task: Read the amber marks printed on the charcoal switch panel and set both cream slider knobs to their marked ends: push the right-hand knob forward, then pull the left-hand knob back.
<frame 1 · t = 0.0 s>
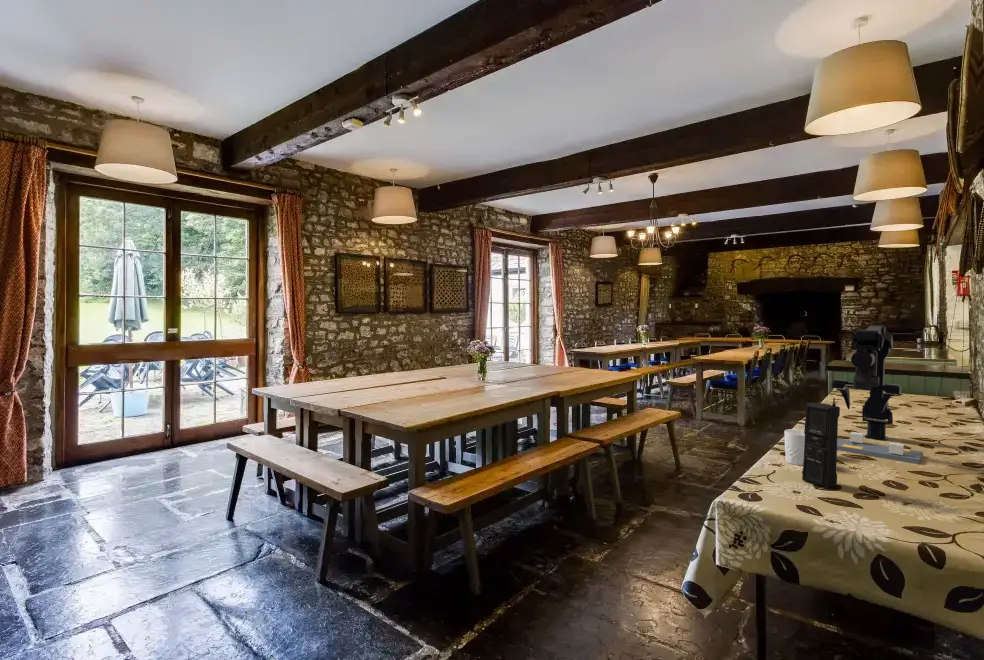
hand: (864, 410, 171), 15 cm above the table, fingers open, 9 cm apart
portable radio: (817, 483, 142), on the table
switch panel: (875, 452, 172), on the table
white cup: (797, 463, 160), on the table
slider b: (896, 448, 165), point 3 cm above the table, slide at 8.0 cm
slider a: (856, 437, 179), point 3 cm above the table, slide at 0.0 cm
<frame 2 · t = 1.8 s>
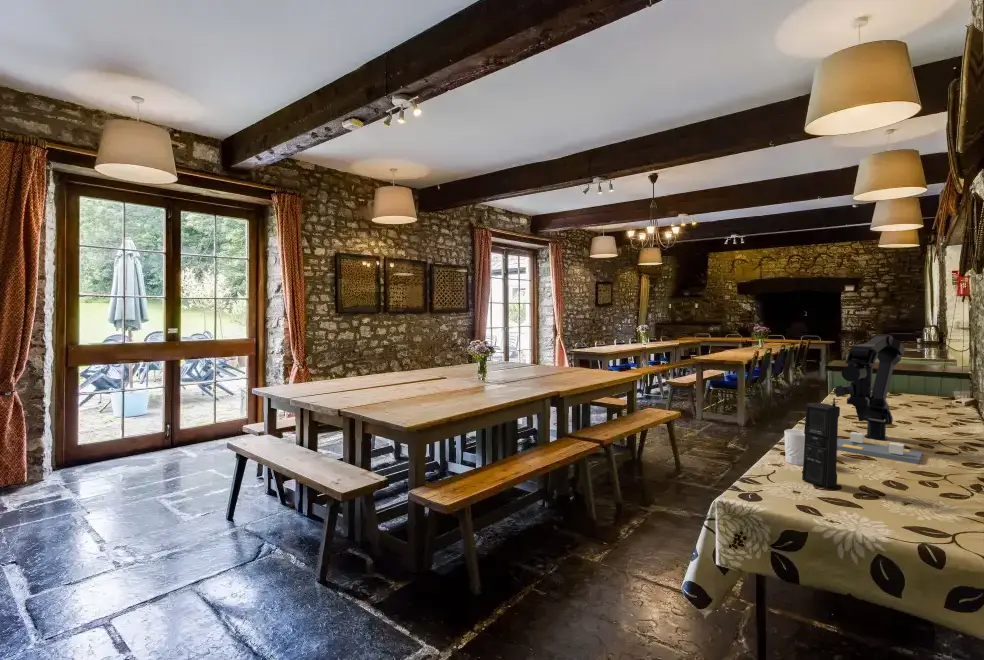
hand: (860, 421, 184), 8 cm above the table, fingers closed
nothing on the table moved.
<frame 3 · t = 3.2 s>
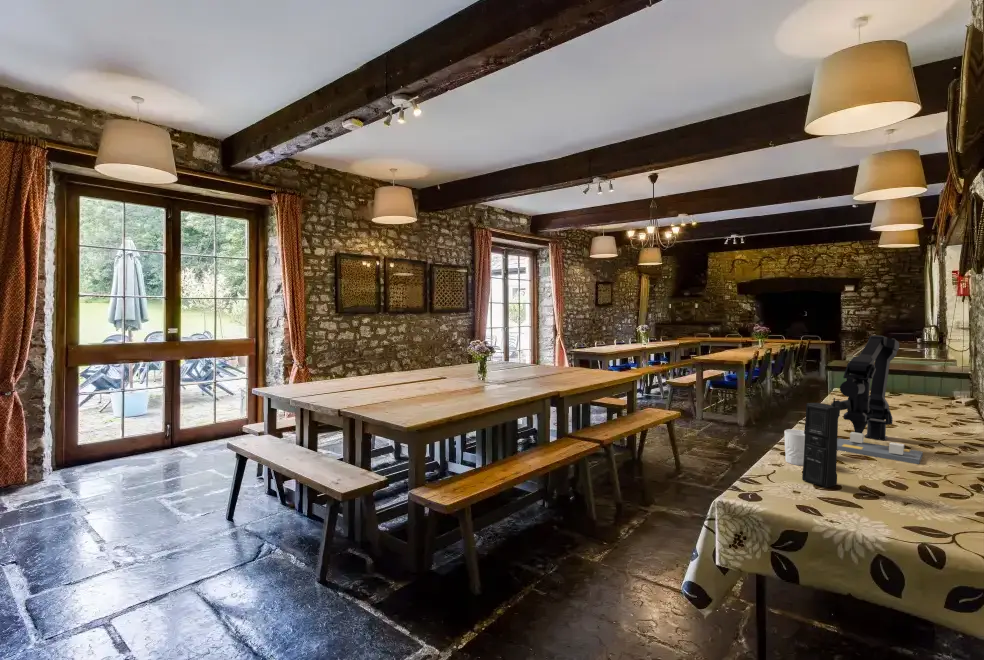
hand: (858, 436, 181), 3 cm above the table, fingers closed
slider a: (856, 437, 179), point 3 cm above the table, slide at 0.1 cm, touching gripper
everything else where it was.
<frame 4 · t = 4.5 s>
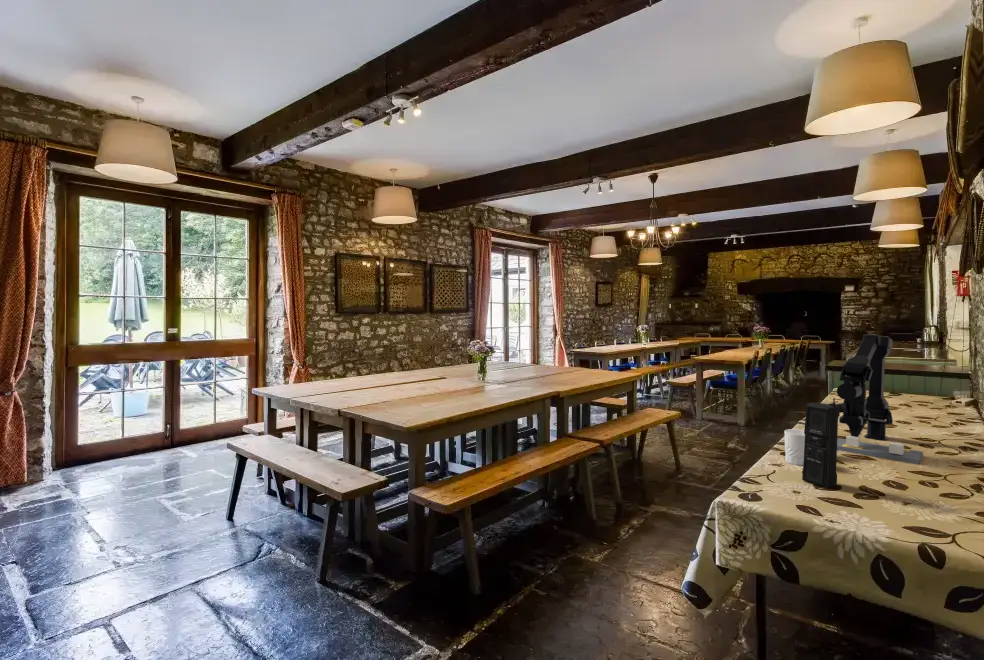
hand: (854, 440, 176), 3 cm above the table, fingers closed
slider a: (852, 441, 174), point 3 cm above the table, slide at 7.6 cm, touching gripper
everything else where it was.
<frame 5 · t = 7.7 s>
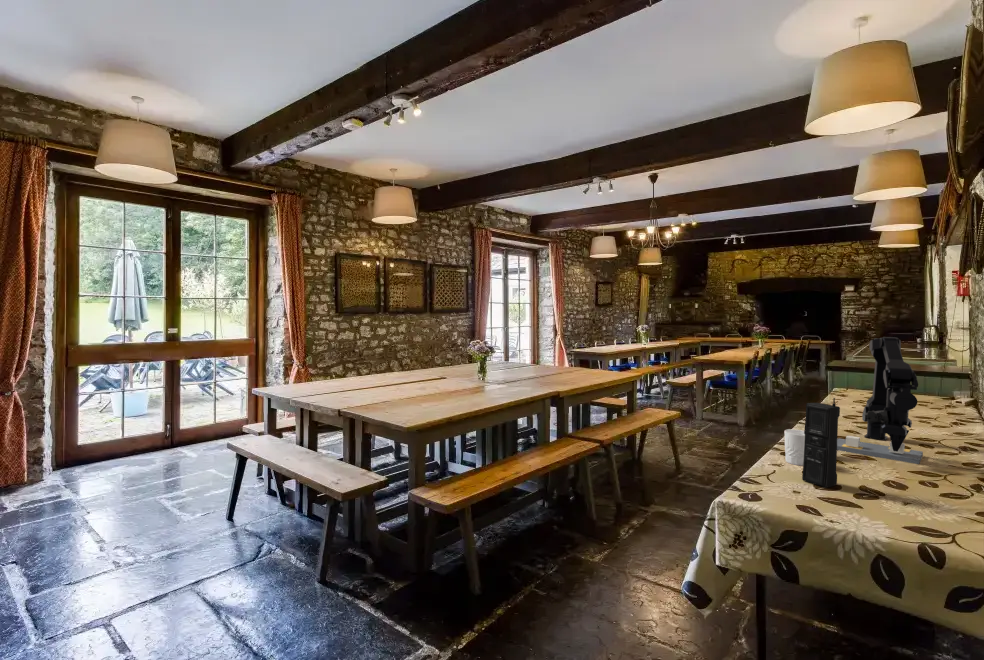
hand: (895, 451, 164), 3 cm above the table, fingers closed
slider b: (897, 447, 166), point 3 cm above the table, slide at 6.6 cm, touching gripper
slider a: (852, 441, 174), point 3 cm above the table, slide at 7.7 cm
everything else where it was.
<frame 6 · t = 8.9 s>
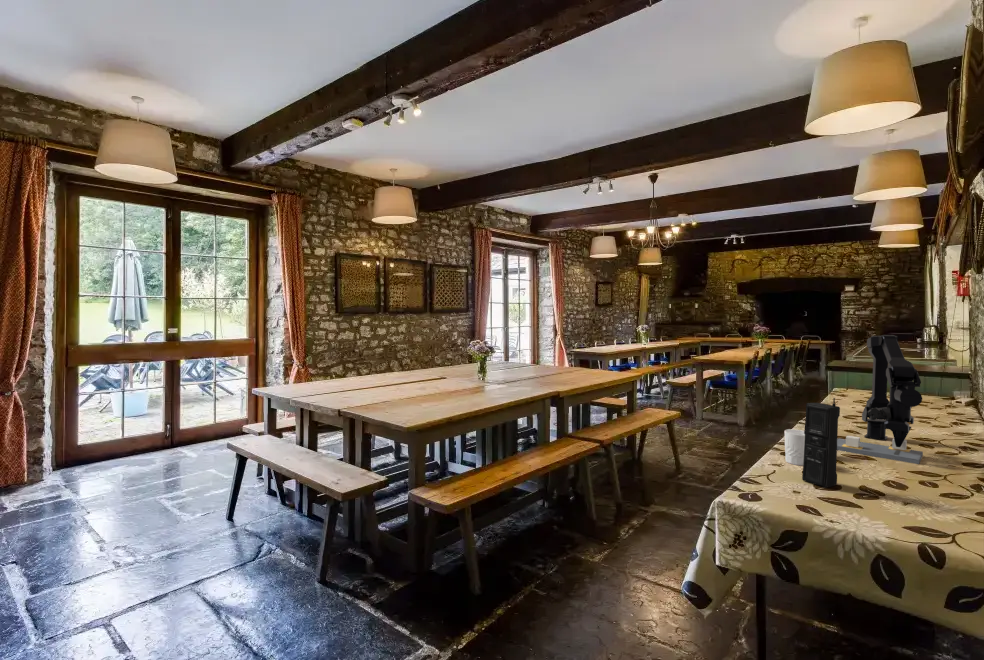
hand: (898, 446, 169), 3 cm above the table, fingers closed
slider b: (899, 444, 171), point 3 cm above the table, slide at 0.3 cm, touching gripper
everything else where it was.
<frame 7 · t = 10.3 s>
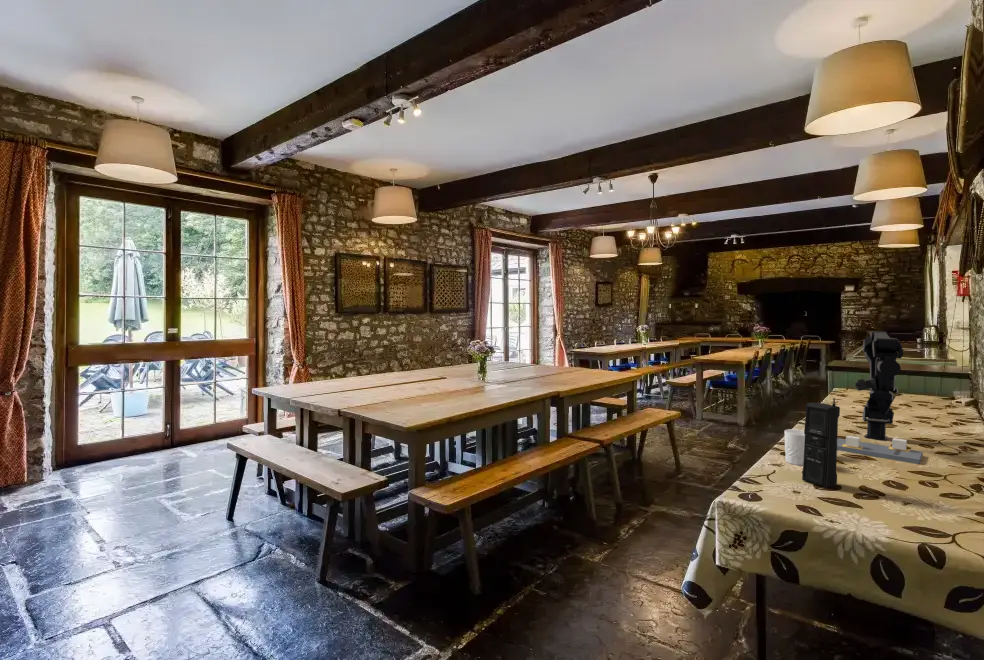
hand: (883, 415, 179), 12 cm above the table, fingers closed
slider b: (899, 444, 171), point 3 cm above the table, slide at 0.3 cm
everything else where it was.
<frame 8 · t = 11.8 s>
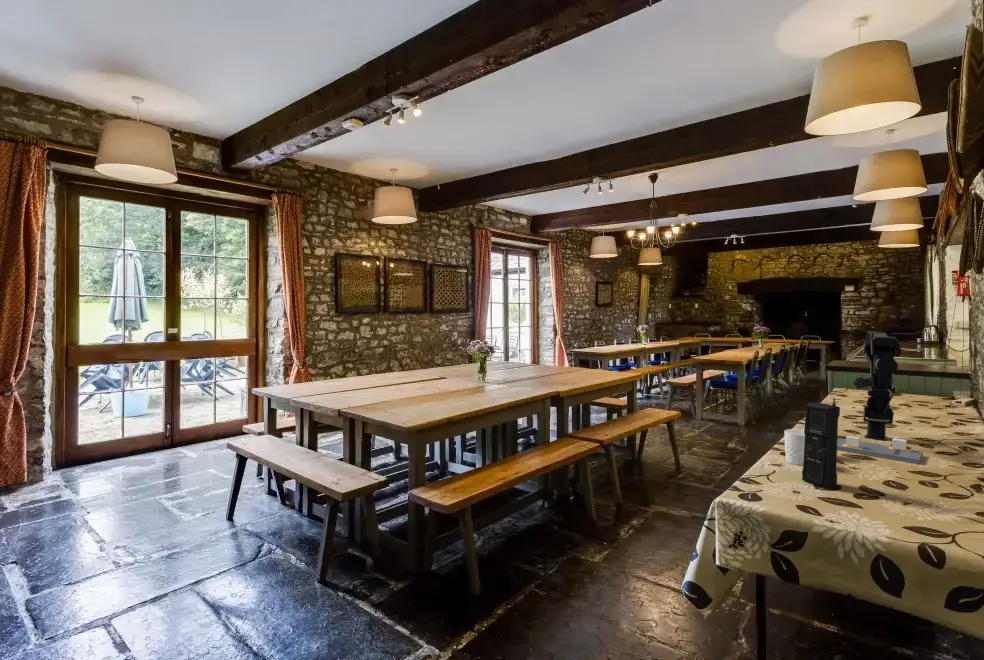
hand: (881, 413, 179), 12 cm above the table, fingers closed
nothing on the table moved.
at the end: slider a slide at 7.7 cm; slider b slide at 0.3 cm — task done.
